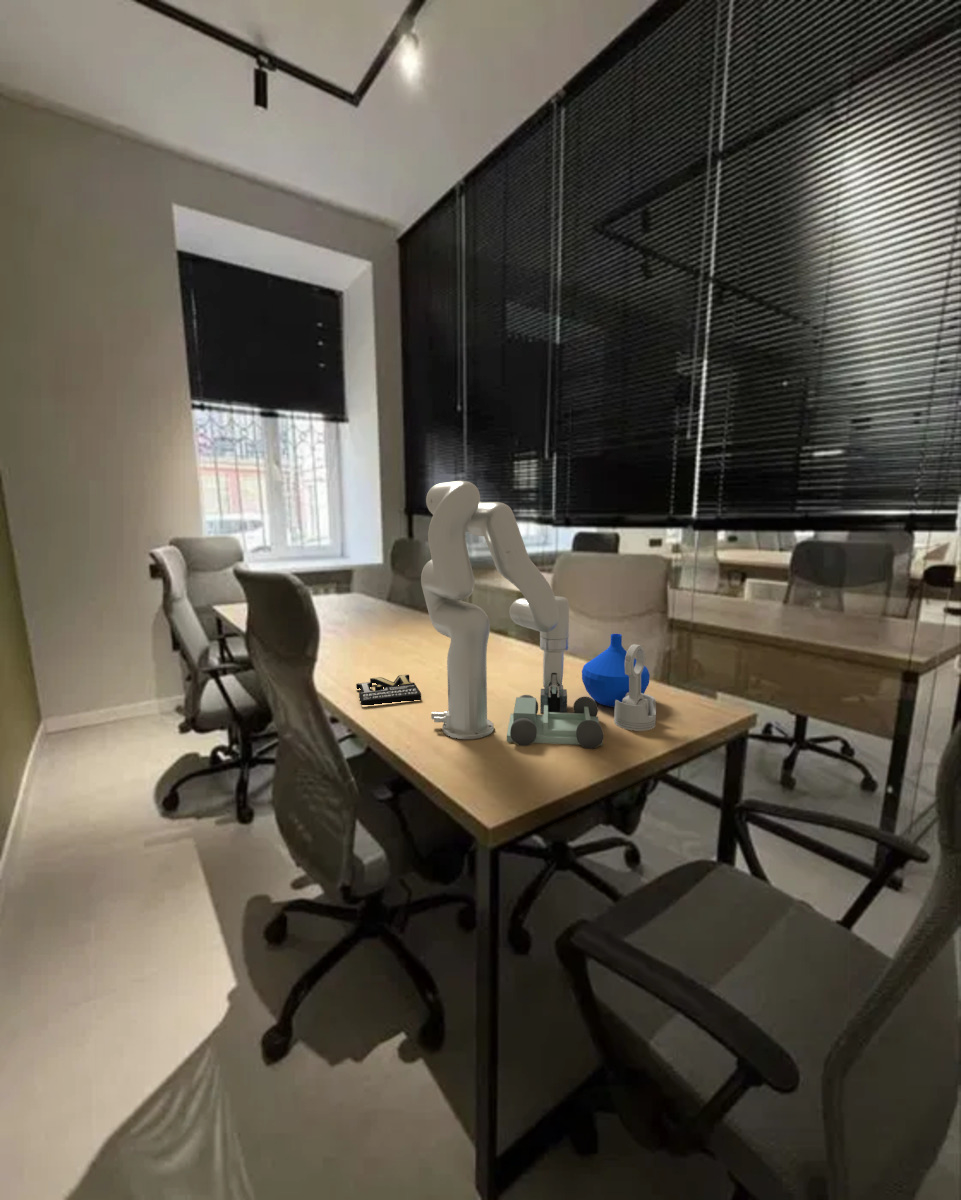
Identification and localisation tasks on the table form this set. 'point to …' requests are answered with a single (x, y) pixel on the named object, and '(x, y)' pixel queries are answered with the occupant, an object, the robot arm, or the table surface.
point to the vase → (610, 674)
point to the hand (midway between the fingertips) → (553, 704)
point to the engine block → (562, 696)
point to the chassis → (555, 724)
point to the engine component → (635, 696)
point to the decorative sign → (388, 691)
